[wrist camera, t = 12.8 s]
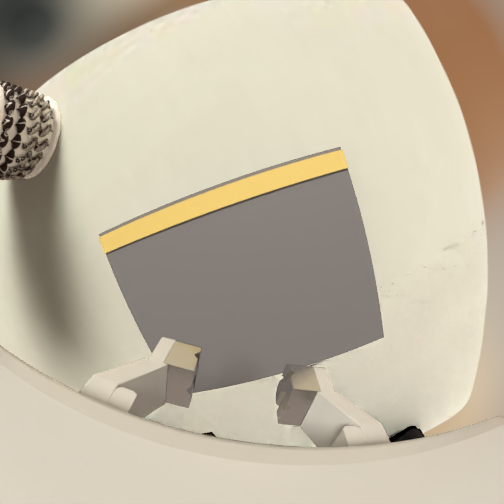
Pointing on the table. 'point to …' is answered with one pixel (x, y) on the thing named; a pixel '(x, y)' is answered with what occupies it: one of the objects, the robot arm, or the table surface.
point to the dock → (253, 271)
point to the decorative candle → (26, 131)
